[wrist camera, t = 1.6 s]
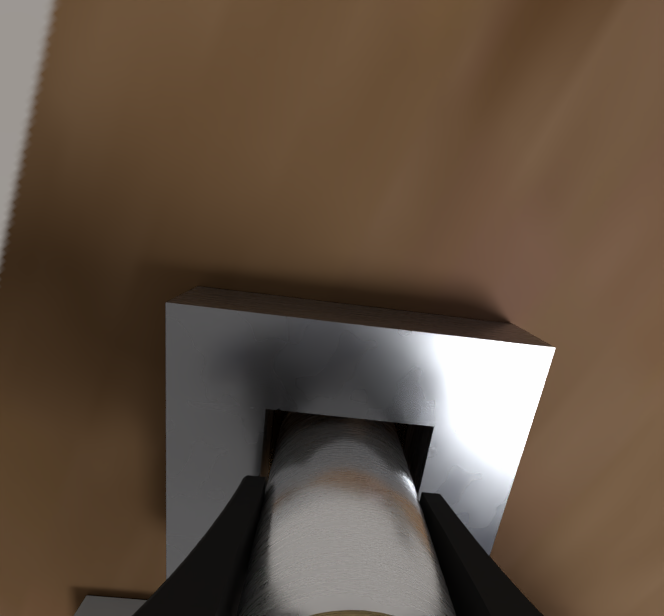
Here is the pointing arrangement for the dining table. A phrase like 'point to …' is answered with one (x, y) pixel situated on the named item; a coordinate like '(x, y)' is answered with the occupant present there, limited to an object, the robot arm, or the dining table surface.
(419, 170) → the dining table surface
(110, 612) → the mat
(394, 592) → the white gold-topped cylinder
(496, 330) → the housing
